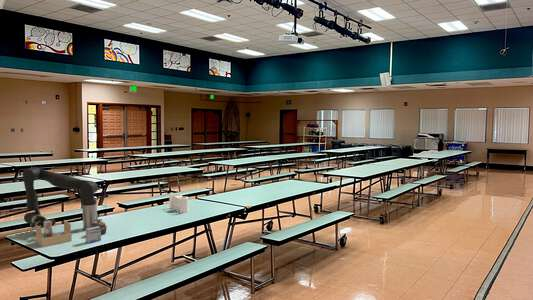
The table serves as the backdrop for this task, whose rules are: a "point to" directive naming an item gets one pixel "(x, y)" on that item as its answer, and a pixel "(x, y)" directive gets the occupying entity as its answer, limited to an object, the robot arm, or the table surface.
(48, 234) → the box
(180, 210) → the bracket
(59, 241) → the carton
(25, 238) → the table surface
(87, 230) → the medicine box
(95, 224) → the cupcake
